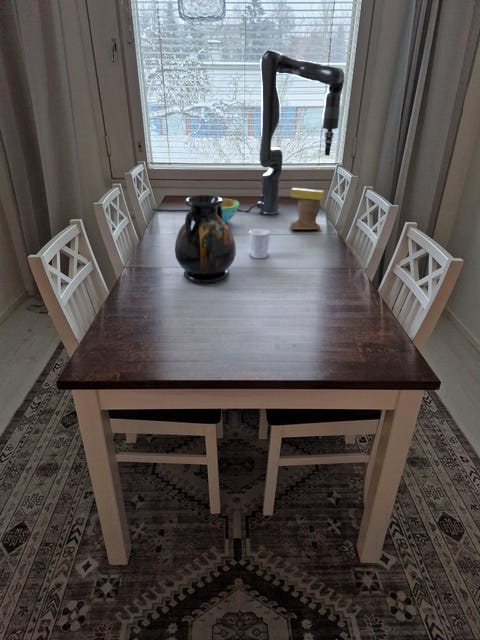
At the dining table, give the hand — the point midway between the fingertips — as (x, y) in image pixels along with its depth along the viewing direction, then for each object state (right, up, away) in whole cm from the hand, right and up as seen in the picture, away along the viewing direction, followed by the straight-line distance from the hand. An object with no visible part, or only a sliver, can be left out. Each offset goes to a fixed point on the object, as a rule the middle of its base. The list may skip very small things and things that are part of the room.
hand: (327, 154), depth 201 cm
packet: (-11, -23, -7) cm, 27 cm away
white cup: (-35, -55, -32) cm, 72 cm away
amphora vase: (-55, -66, -51) cm, 100 cm away
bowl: (-54, -32, +9) cm, 63 cm away
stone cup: (-11, -37, +1) cm, 38 cm away
